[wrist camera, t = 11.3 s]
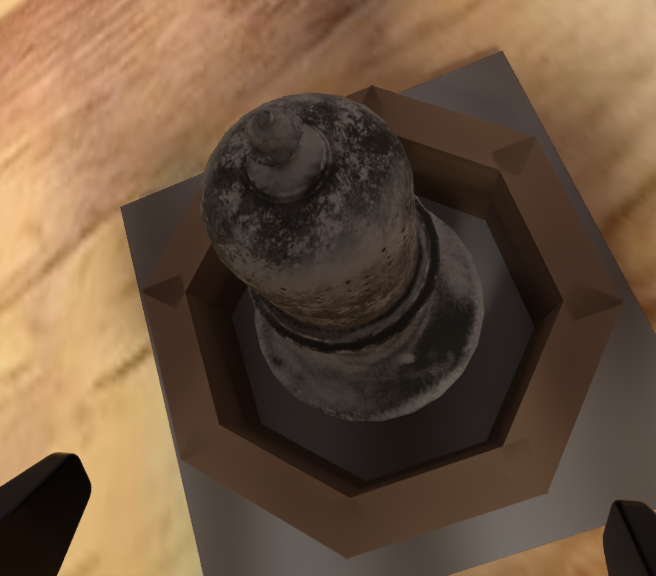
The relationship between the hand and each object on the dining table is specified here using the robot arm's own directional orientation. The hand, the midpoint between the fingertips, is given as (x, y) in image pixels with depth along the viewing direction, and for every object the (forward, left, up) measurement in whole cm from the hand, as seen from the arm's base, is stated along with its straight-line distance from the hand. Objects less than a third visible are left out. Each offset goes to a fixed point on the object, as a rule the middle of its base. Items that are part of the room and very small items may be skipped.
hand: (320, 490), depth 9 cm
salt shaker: (+2, +4, -7) cm, 9 cm away
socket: (+2, +4, -8) cm, 9 cm away
